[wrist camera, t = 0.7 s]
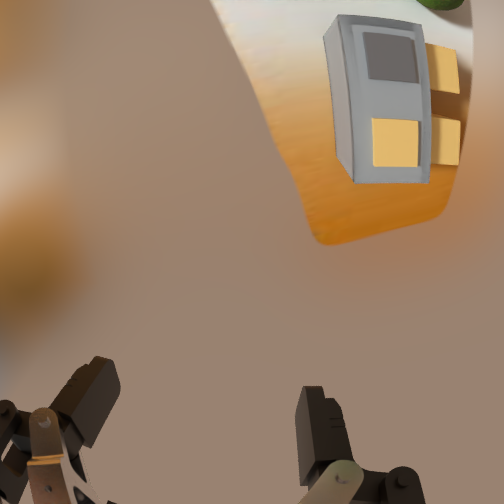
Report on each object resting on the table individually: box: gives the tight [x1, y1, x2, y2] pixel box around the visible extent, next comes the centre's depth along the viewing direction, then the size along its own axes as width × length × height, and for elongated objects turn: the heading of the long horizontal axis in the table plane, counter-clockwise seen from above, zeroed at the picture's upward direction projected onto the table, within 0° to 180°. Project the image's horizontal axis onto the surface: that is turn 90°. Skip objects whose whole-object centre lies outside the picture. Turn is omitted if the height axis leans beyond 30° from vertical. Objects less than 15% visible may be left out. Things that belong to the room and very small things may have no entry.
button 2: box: [425, 43, 460, 94], centre depth 19 cm, size 5×8×5 cm, turn 98°
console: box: [323, 15, 431, 184], centre depth 23 cm, size 16×8×12 cm, turn 8°
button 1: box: [430, 114, 460, 165], centre depth 24 cm, size 5×8×5 cm, turn 98°
